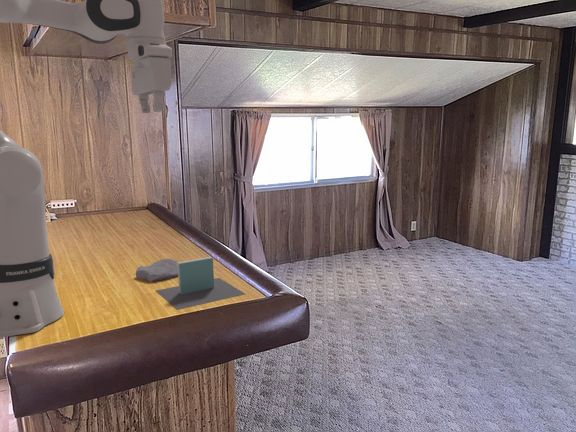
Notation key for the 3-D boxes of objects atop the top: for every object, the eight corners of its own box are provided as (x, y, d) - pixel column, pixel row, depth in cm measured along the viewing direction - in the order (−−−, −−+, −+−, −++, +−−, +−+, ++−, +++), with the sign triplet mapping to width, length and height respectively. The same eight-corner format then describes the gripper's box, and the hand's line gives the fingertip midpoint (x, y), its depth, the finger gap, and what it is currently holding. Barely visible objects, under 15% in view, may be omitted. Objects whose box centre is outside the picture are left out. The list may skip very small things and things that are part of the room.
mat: (177, 312, 110) (177, 309, 109) (155, 292, 123) (155, 290, 123) (246, 296, 119) (245, 293, 119) (219, 279, 132) (218, 277, 132)
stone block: (188, 280, 138) (167, 268, 144) (189, 266, 137) (168, 254, 142) (154, 293, 129) (133, 279, 135) (154, 277, 128) (133, 264, 134)
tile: (181, 294, 119) (179, 264, 118) (179, 292, 121) (177, 262, 119) (214, 287, 124) (212, 258, 123) (211, 285, 126) (210, 256, 124)
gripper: (122, 58, 120) (127, 113, 122) (146, 45, 103) (151, 110, 105) (147, 59, 123) (151, 113, 126) (174, 47, 106) (178, 110, 109)
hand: (151, 112), depth 115 cm, fingers open, 8 cm apart
